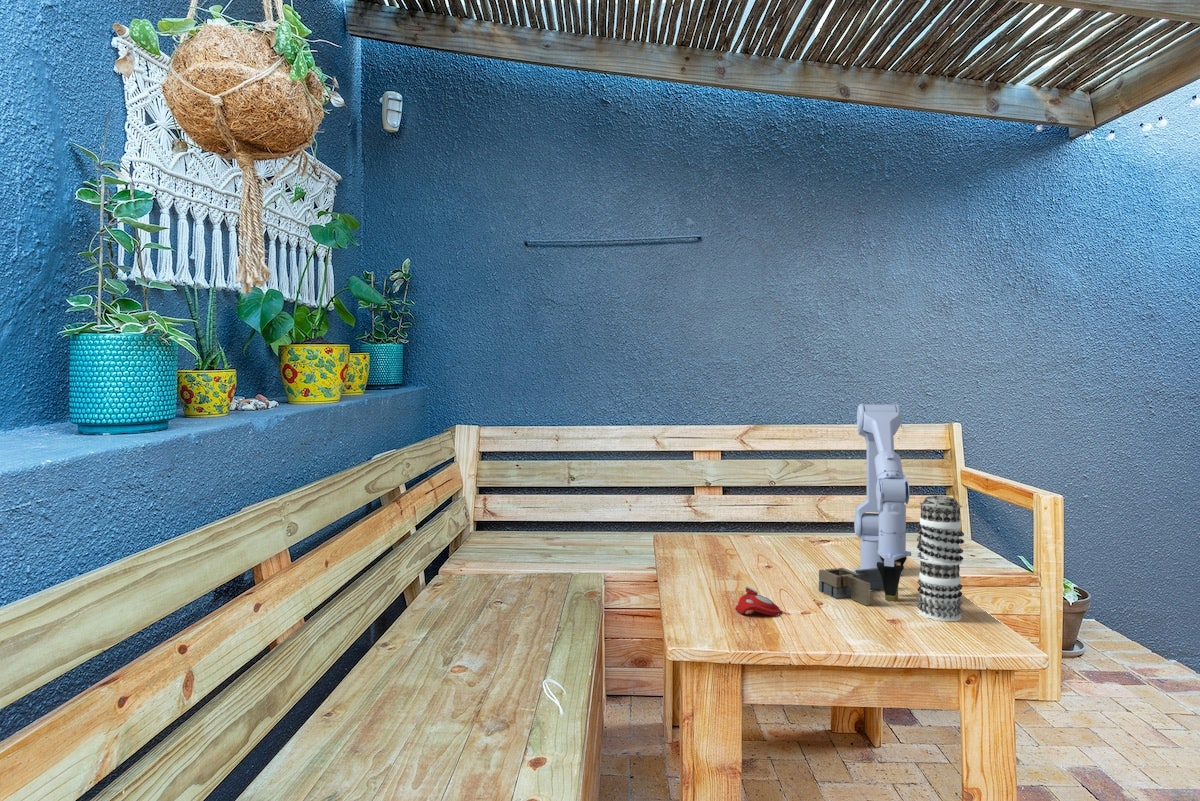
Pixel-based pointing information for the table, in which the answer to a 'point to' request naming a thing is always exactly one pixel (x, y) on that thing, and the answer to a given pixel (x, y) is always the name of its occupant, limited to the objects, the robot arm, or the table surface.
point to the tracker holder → (756, 603)
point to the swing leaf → (847, 583)
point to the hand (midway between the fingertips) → (891, 591)
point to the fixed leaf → (845, 592)
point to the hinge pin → (895, 598)
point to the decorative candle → (939, 559)
